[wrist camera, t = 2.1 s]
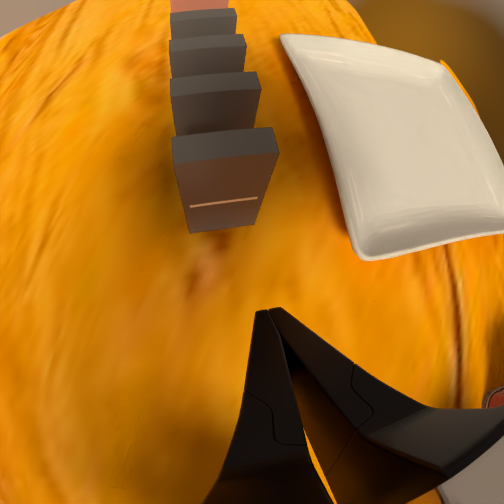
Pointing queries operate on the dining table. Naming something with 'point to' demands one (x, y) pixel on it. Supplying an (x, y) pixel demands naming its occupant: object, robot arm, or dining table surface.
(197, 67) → the domino
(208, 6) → the domino
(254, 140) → the domino
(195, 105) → the domino
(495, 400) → the lighter
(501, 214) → the square plate
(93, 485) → the dining table surface
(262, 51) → the dining table surface
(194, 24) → the domino
